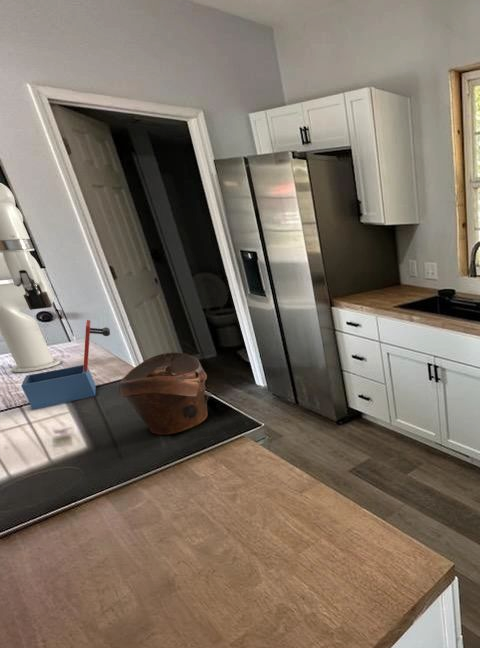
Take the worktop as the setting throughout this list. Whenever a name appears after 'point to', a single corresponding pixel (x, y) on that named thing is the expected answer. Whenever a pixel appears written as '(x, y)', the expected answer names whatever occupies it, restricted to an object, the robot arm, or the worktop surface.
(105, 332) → the box lid
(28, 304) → the walnut block
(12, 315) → the robot arm
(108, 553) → the worktop surface
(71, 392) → the storage box
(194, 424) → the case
